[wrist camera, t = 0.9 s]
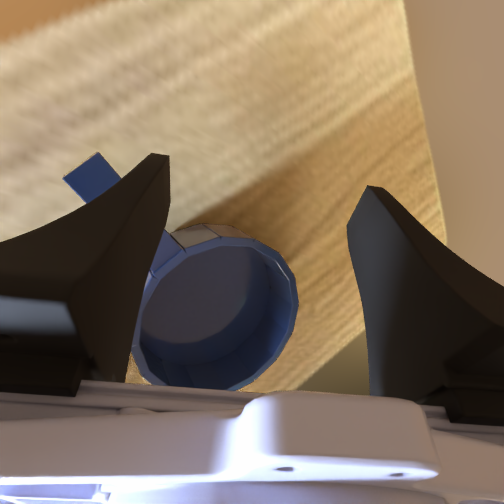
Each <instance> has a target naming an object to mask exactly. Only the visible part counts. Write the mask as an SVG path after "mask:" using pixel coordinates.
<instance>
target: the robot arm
mask: <svg viewBox="0 0 504 504" xmlns="http://www.w3.org/2000/svg"><path fill="white" fill-rule="evenodd" d="M169 207H170V163H169V156H168V155H161V154H155V153H151V154H150V155H148V156H147V157H146V158H145V159H144V160H143V161H141V162H140V163H139V164H138V165H137V166H136V167H135V168H134V169H132V170H131V171H130V172H129V173H128V174H127V175H125V176H124V177H123V178H122V179H121V180H119V181H118V182H117V183H116V184H114V185H113V186H112V187H110V188H109V189H108V190H106V191H105V192H103V193H102V194H101V195H99V196H98V197H97V198H95V199H94V200H92V201H90V202H89V203H87V204H85V205H84V206H82V207H80V208H78V209H77V210H75V211H73V212H71V213H69V214H67V215H65V216H63V217H61V218H59V219H57V220H55V221H53V222H51V223H49V224H47V225H44V226H42V227H40V228H37V229H35V230H33V231H30V232H28V233H25V234H22V235H20V236H17V237H14V238H12V239H9V240H6V241H3V242H0V504H504V287H503V286H502V285H500V284H498V283H497V282H495V281H494V280H492V279H491V278H489V277H487V276H486V275H484V274H483V273H481V272H480V271H478V270H477V269H475V268H474V267H472V266H471V265H469V264H468V263H467V262H465V261H464V260H462V259H461V258H460V257H459V256H457V255H456V254H455V253H453V252H452V251H451V250H450V249H449V248H447V247H446V246H445V245H444V244H443V243H441V242H440V241H439V240H438V239H437V238H436V237H435V236H433V235H432V234H431V233H430V232H429V231H428V230H427V229H426V228H425V227H424V226H423V225H422V224H420V223H419V222H418V221H417V220H416V219H415V218H414V217H413V216H412V215H411V214H410V213H409V212H408V211H407V210H406V209H405V208H404V207H403V206H402V205H401V204H400V203H399V202H398V201H397V200H396V199H395V198H394V197H393V196H392V195H391V194H390V193H389V192H388V191H386V190H385V189H384V188H382V187H375V186H369V185H367V187H366V189H365V191H364V192H363V194H362V196H361V198H360V200H359V202H358V204H357V206H356V208H355V210H354V212H353V214H352V216H351V218H350V220H349V222H348V224H347V239H348V248H349V252H350V257H351V261H352V265H353V269H354V273H355V277H356V281H357V284H358V288H359V292H360V296H361V301H362V306H363V313H364V321H365V328H366V338H367V349H368V363H369V378H370V379H369V380H370V396H364V395H351V394H339V393H338V394H337V393H325V392H312V391H299V390H296V391H274V392H269V393H253V392H240V391H226V390H213V389H199V388H186V387H172V386H159V385H145V384H132V383H125V378H126V372H127V367H128V362H129V356H130V352H131V347H132V342H133V337H134V332H135V327H136V323H137V318H138V313H139V309H140V304H141V300H142V296H143V292H144V287H145V283H146V280H147V277H148V273H149V271H150V268H151V265H152V262H153V259H154V257H155V254H156V251H157V248H158V246H159V243H160V240H161V237H162V234H163V231H164V228H165V226H166V221H167V217H168V212H169Z"/></svg>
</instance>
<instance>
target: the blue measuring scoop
mask: <svg viewBox="0 0 504 504" xmlns="http://www.w3.org/2000/svg"><path fill="white" fill-rule="evenodd" d="M63 180H64V181H65V182H66V183H67V184H68V185H69V186H70V187H71V188H72V189H73V190H74V191H75V192H76V193H77V194H78V195H79V196H80V197H81V199H82V200H83V201H84V202H85V203H86V204H87V203H89V202H90V201H92V200H94V199H95V198H97V197H98V196H99V195H101V194H102V193H103V192H105V191H106V190H108V189H109V188H110V187H112V186H113V185H114V184H116V183H117V182H118V181H119V180H121V177H120V176H119V175H118V174H117V173H116V172H115V170H114V169H113V168H112V167H111V166H110V164H109V163H108V162H107V161H106V160H105V159H104V157H103V156H102V155H101V154H100V153H99V152H95V153H94V154H93V155H91V156H90V157H88V158H87V159H86V160H84V161H83V162H82V163H80V164H79V165H77V166H76V167H75V168H73V169H72V170H71V171H69V172H68V173H66V174H65V175H64V176H63ZM298 307H299V300H298V293H297V287H296V280H295V277H294V274H293V273H292V271H291V269H290V268H289V266H288V265H287V263H286V262H285V260H284V259H283V257H282V256H281V254H279V252H277V251H275V250H274V249H272V248H270V247H268V246H267V245H265V244H263V243H261V242H260V241H258V240H256V239H254V238H253V237H251V236H249V235H247V234H245V233H244V232H242V231H240V230H238V229H236V228H234V227H233V226H227V225H216V224H205V223H202V224H197V225H194V226H191V227H188V228H185V229H181V230H178V231H175V232H172V233H170V235H169V233H168V232H167V231H166V230H165V229H164V231H163V234H162V237H161V240H160V243H159V246H158V248H157V251H156V254H155V257H154V259H153V262H152V265H151V268H150V271H149V273H148V277H147V280H146V283H145V287H144V292H143V296H142V300H141V304H140V309H139V313H138V318H137V323H136V327H135V332H134V337H133V342H132V347H131V353H132V355H133V358H134V360H135V362H136V365H137V367H138V370H139V372H140V374H141V376H142V377H143V378H144V379H145V380H146V381H148V382H149V383H150V384H152V385H159V386H172V387H186V388H199V389H213V390H226V391H236V390H238V389H240V388H242V387H244V386H246V385H248V384H250V383H252V382H253V381H254V380H256V379H257V378H258V377H259V376H260V375H261V374H262V373H263V372H264V371H265V370H266V369H267V368H269V367H270V366H271V365H272V364H273V363H274V362H275V361H276V360H277V358H278V357H279V355H280V354H281V352H282V350H283V349H284V347H285V345H286V343H287V342H288V340H289V338H290V336H291V335H292V332H293V329H294V325H295V320H296V316H297V311H298Z"/></svg>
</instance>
